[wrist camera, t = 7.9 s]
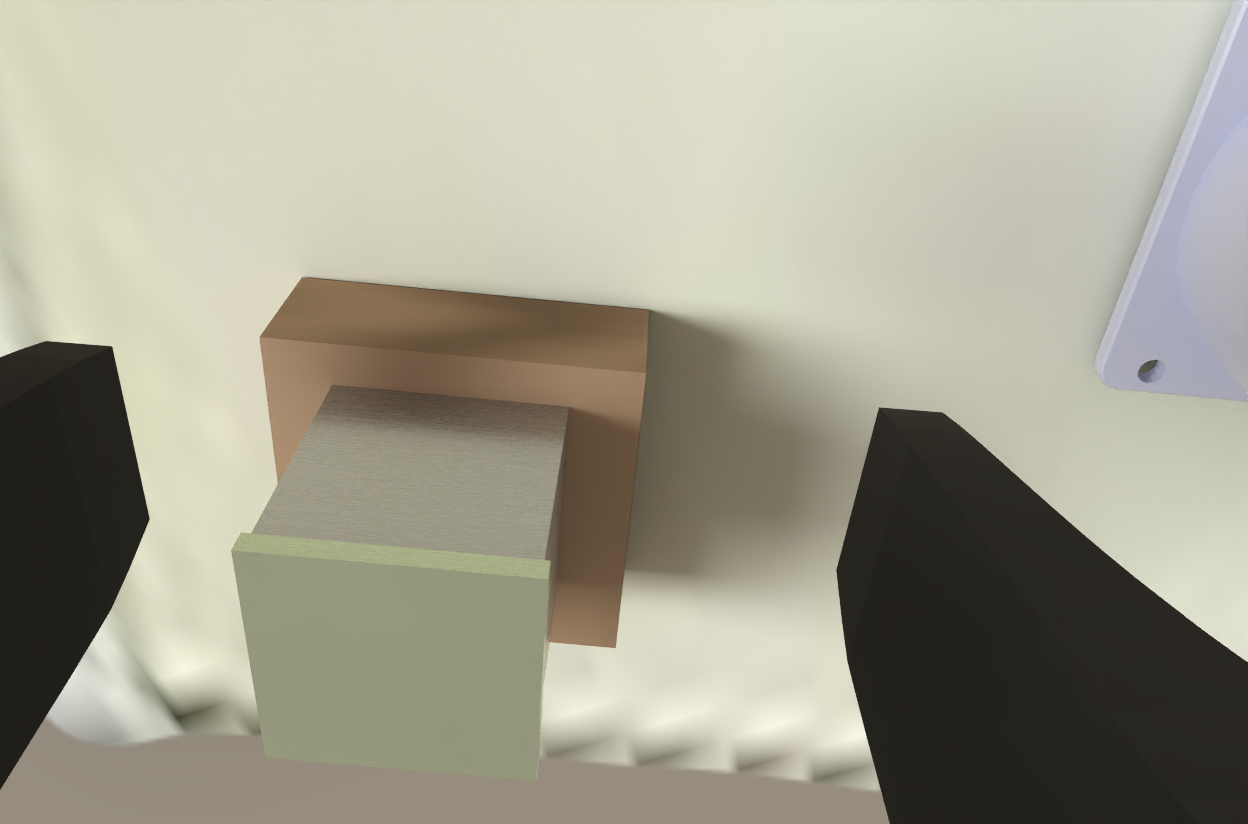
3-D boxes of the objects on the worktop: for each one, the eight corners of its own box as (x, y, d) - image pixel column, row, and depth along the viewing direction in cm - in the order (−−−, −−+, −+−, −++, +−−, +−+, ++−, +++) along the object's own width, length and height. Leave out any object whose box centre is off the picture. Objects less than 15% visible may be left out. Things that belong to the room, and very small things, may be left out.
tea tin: (574, 402, 19) (547, 579, 15) (561, 587, 21) (535, 781, 17) (326, 380, 19) (230, 550, 15) (343, 567, 21) (265, 756, 17)
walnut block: (648, 310, 20) (646, 373, 18) (620, 570, 24) (615, 647, 22) (302, 277, 20) (259, 337, 18) (327, 544, 24) (295, 618, 22)
